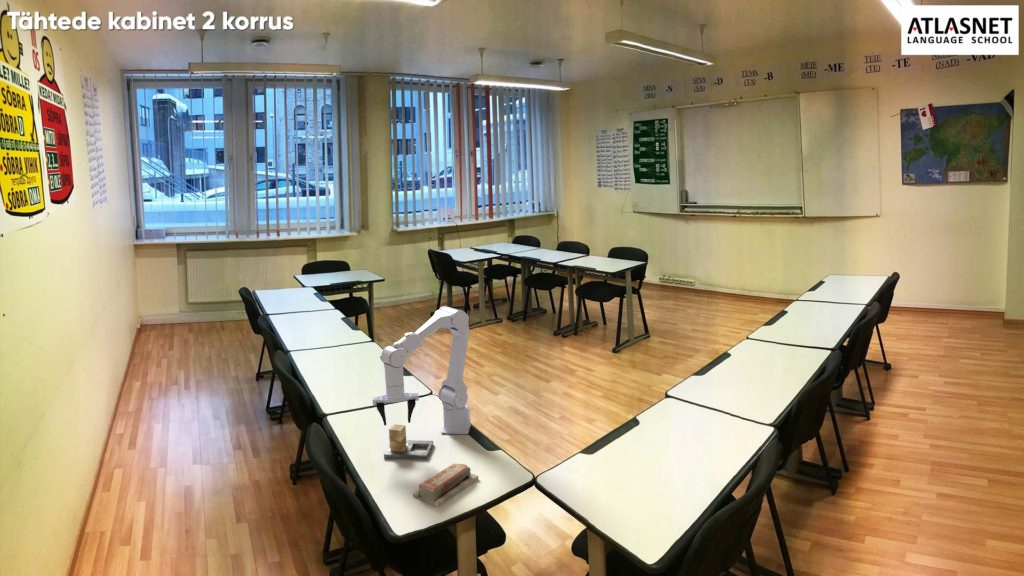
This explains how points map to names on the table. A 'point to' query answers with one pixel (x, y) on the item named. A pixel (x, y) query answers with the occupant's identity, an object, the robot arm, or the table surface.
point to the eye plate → (410, 450)
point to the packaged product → (445, 484)
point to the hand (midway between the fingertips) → (397, 422)
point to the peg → (397, 437)
